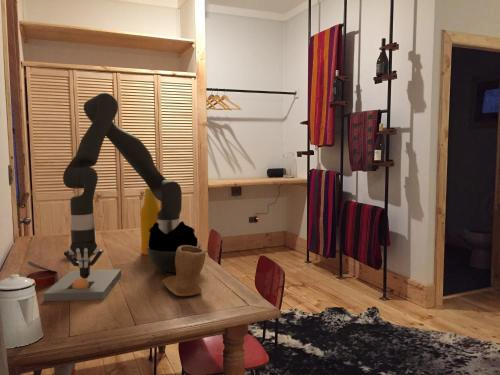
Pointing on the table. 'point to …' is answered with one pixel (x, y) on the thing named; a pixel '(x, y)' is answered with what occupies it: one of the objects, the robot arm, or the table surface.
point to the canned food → (43, 276)
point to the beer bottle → (148, 218)
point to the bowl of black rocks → (169, 245)
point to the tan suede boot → (186, 271)
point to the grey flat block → (97, 289)
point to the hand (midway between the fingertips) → (85, 277)
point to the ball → (80, 284)
